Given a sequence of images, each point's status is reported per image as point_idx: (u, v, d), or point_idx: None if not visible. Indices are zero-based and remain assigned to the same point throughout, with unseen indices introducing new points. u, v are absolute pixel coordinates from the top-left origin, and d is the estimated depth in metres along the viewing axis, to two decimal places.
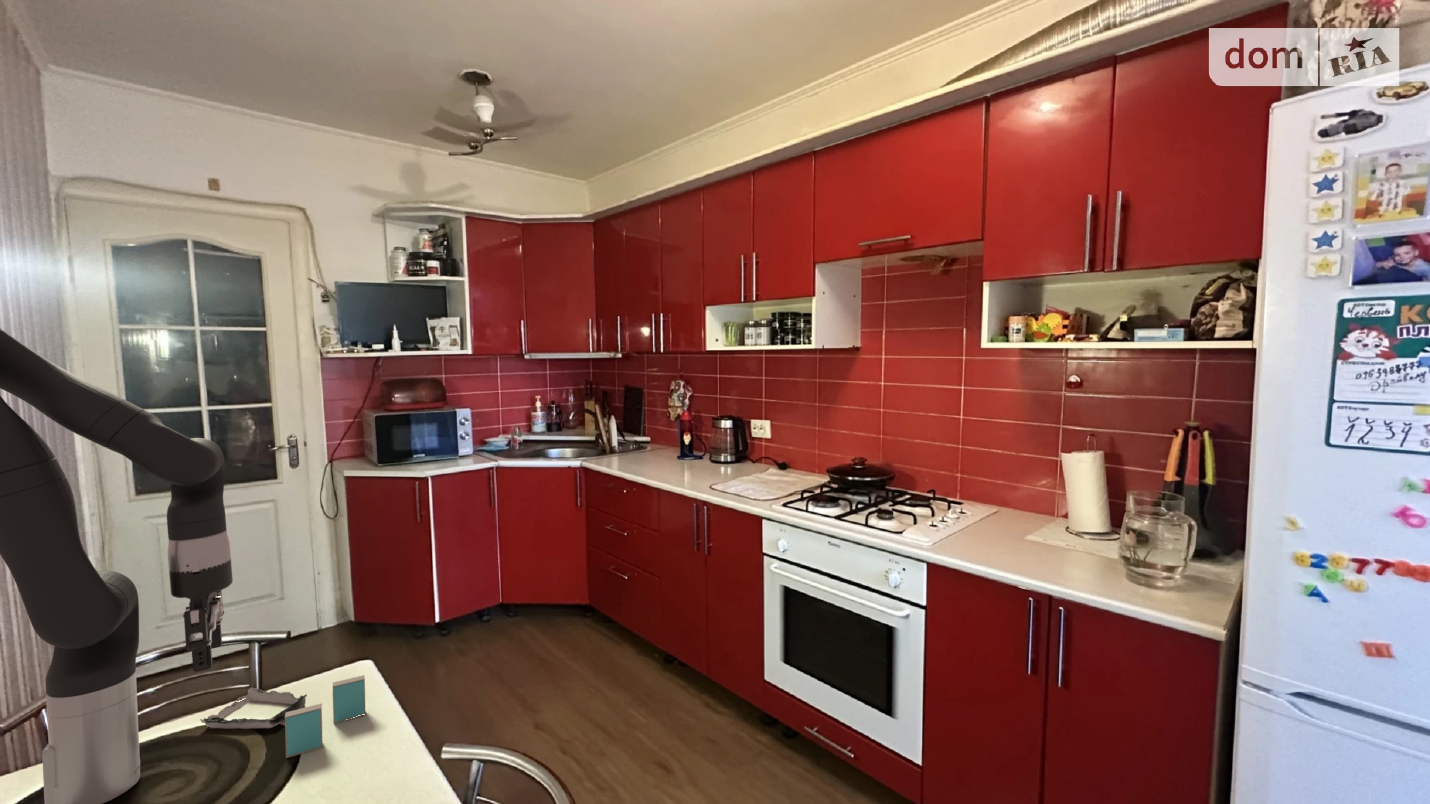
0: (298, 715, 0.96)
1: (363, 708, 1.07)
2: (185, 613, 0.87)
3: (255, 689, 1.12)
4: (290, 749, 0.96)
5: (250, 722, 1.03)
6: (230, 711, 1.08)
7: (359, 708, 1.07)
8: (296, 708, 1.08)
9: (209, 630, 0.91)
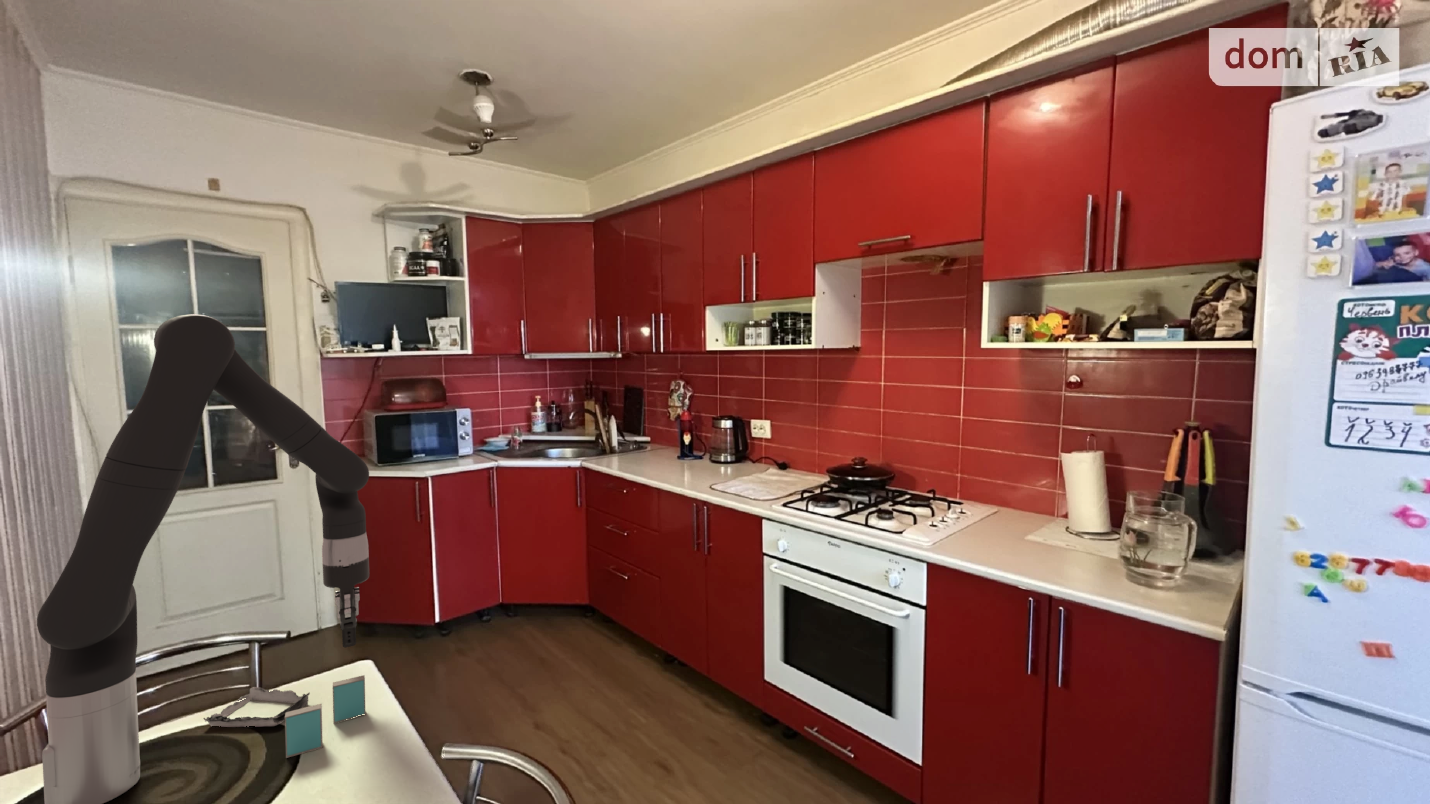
0: (298, 715, 0.96)
1: (363, 708, 1.07)
2: (341, 613, 1.05)
3: (257, 688, 1.13)
4: (290, 749, 0.96)
5: (253, 720, 1.04)
6: (232, 710, 1.08)
7: (359, 708, 1.07)
8: (299, 706, 1.09)
9: None
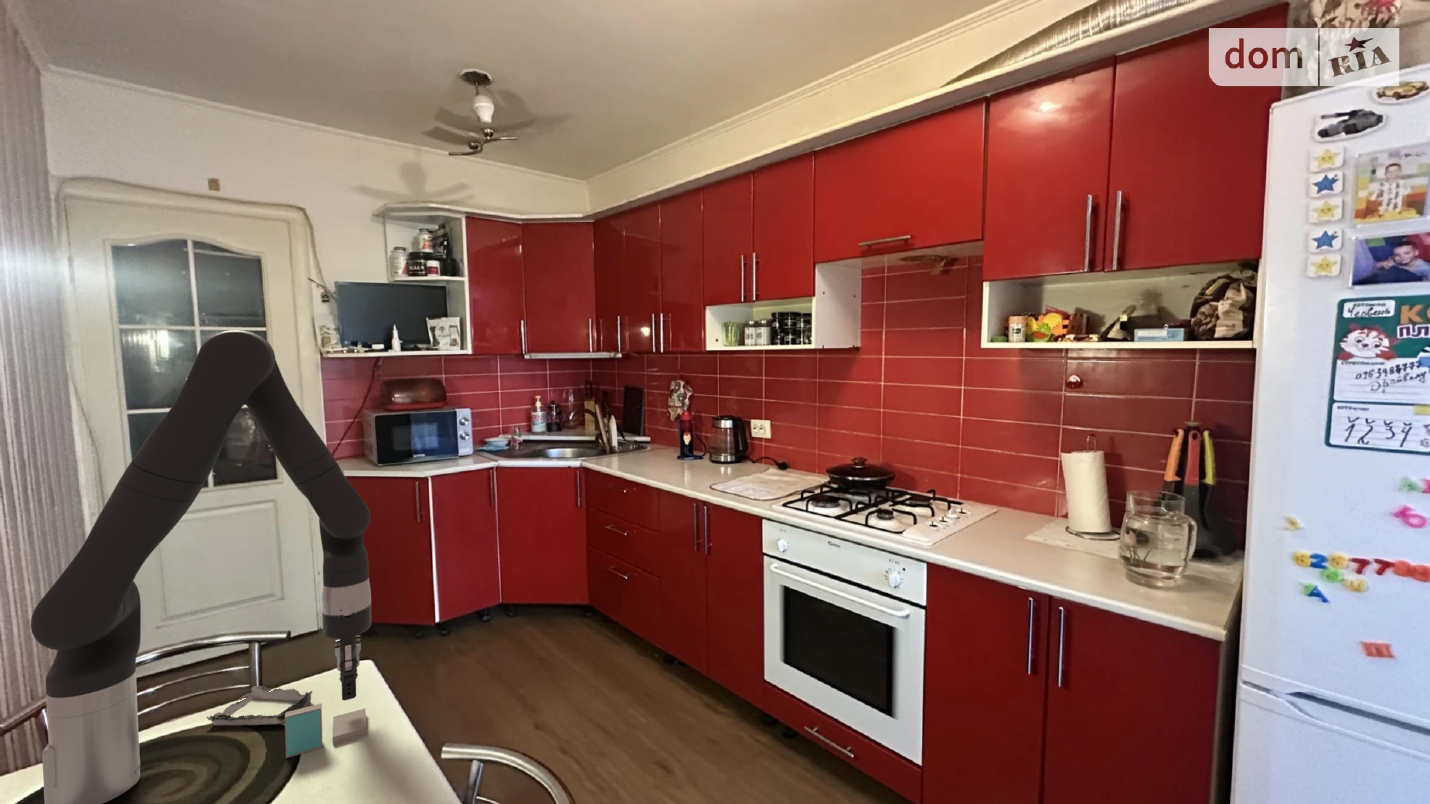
0: (298, 715, 0.96)
1: None
2: (341, 666, 0.99)
3: (259, 687, 1.13)
4: (290, 749, 0.96)
5: (257, 718, 1.04)
6: (235, 709, 1.09)
7: None
8: (302, 704, 1.10)
9: None
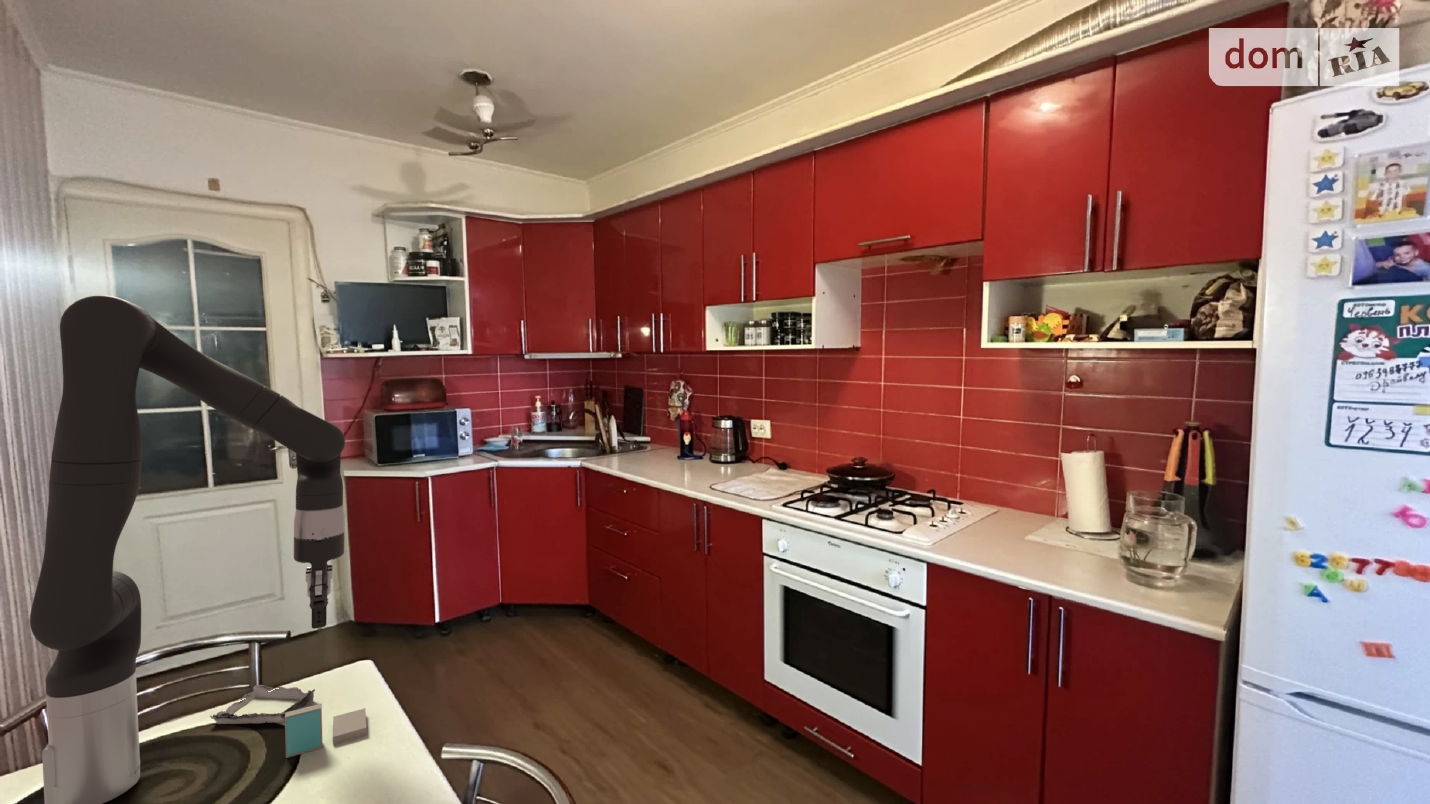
0: (298, 715, 0.96)
1: None
2: (311, 590, 0.98)
3: (261, 686, 1.13)
4: (290, 749, 0.96)
5: (261, 716, 1.05)
6: (237, 708, 1.09)
7: None
8: (305, 703, 1.10)
9: (326, 595, 1.03)
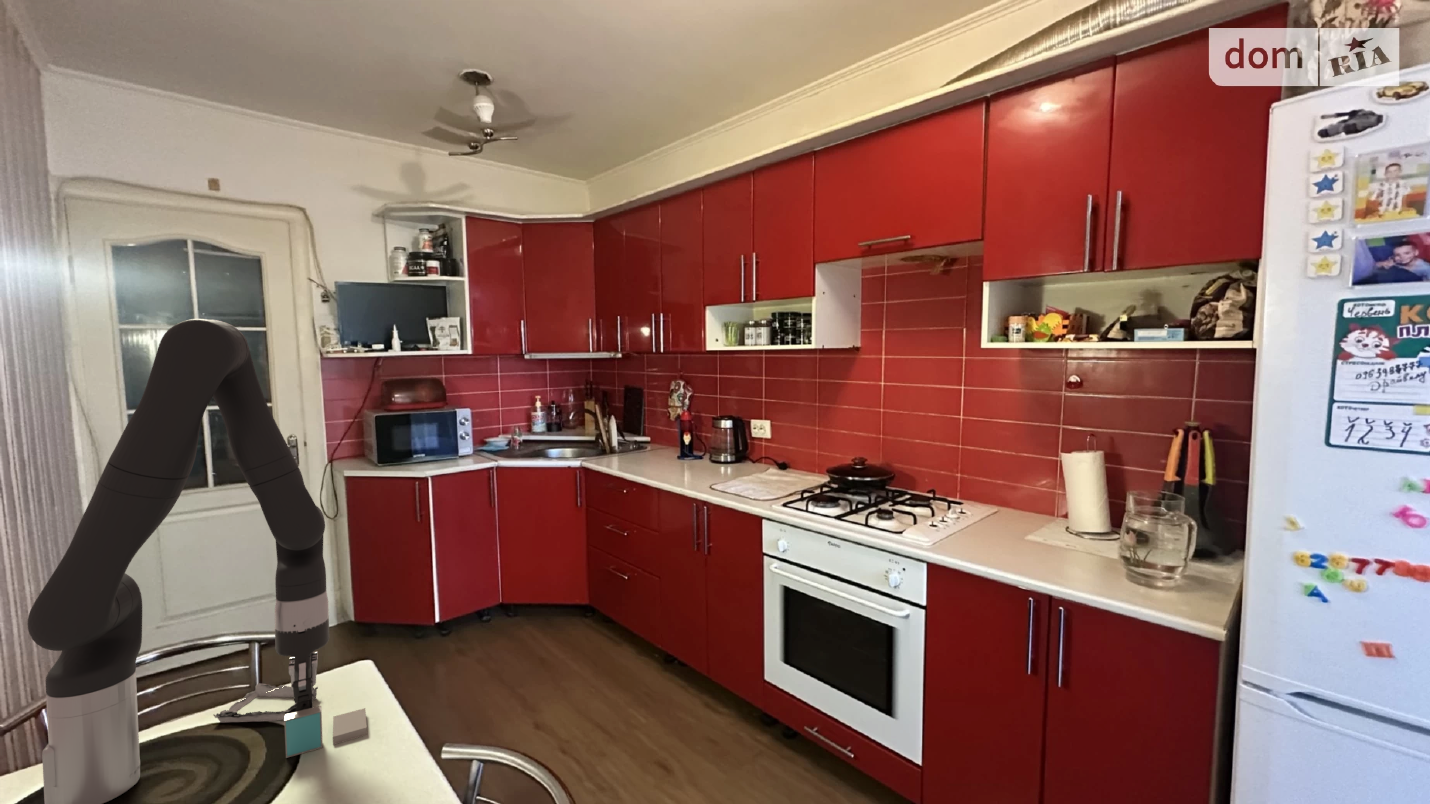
0: (298, 718, 0.95)
1: None
2: (294, 686, 0.93)
3: (263, 684, 1.14)
4: (290, 750, 0.96)
5: (265, 715, 1.05)
6: (240, 706, 1.10)
7: None
8: None
9: (311, 686, 0.98)
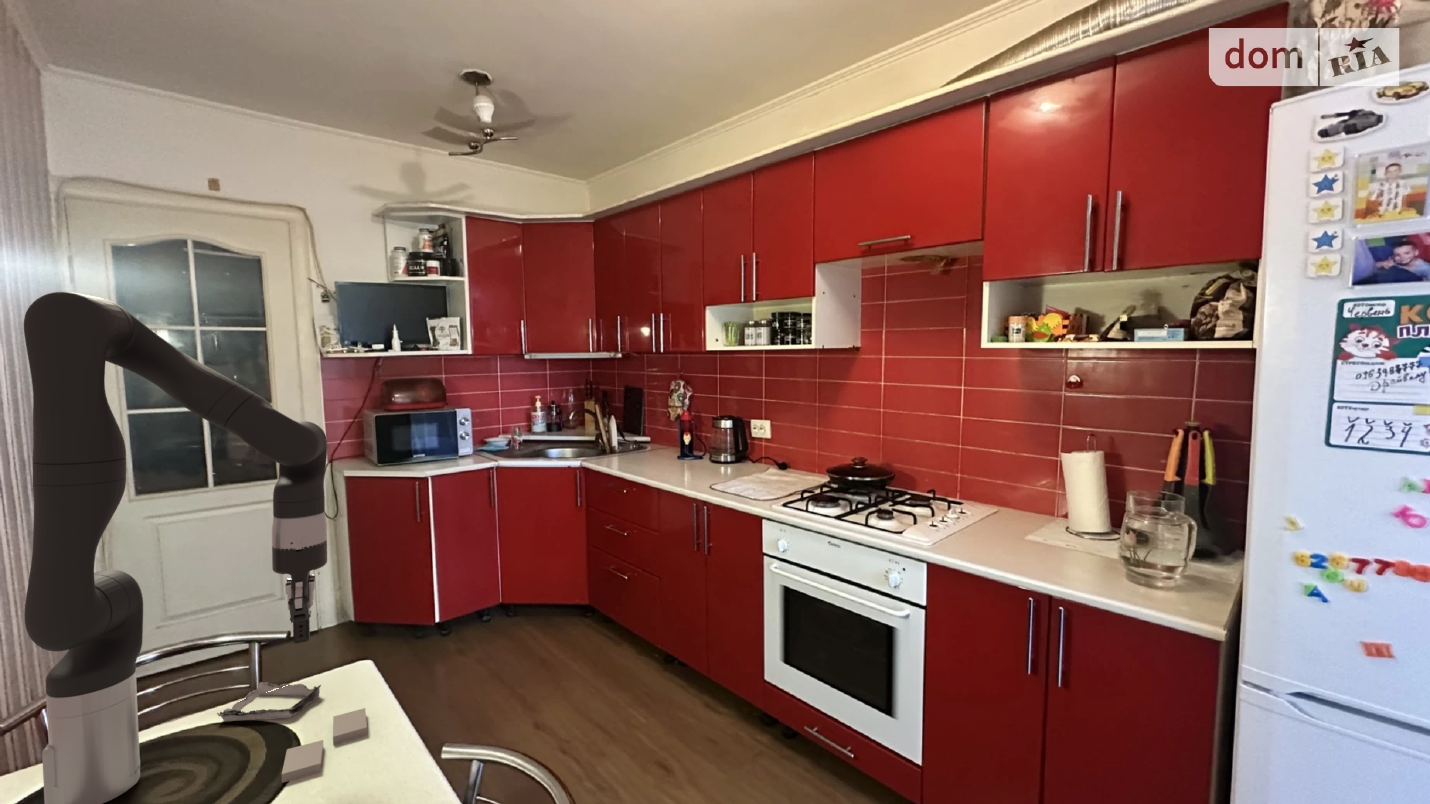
0: None
1: None
2: (290, 603, 0.91)
3: (265, 683, 1.14)
4: None
5: (269, 713, 1.06)
6: (243, 705, 1.10)
7: None
8: (311, 698, 1.12)
9: (308, 608, 0.96)
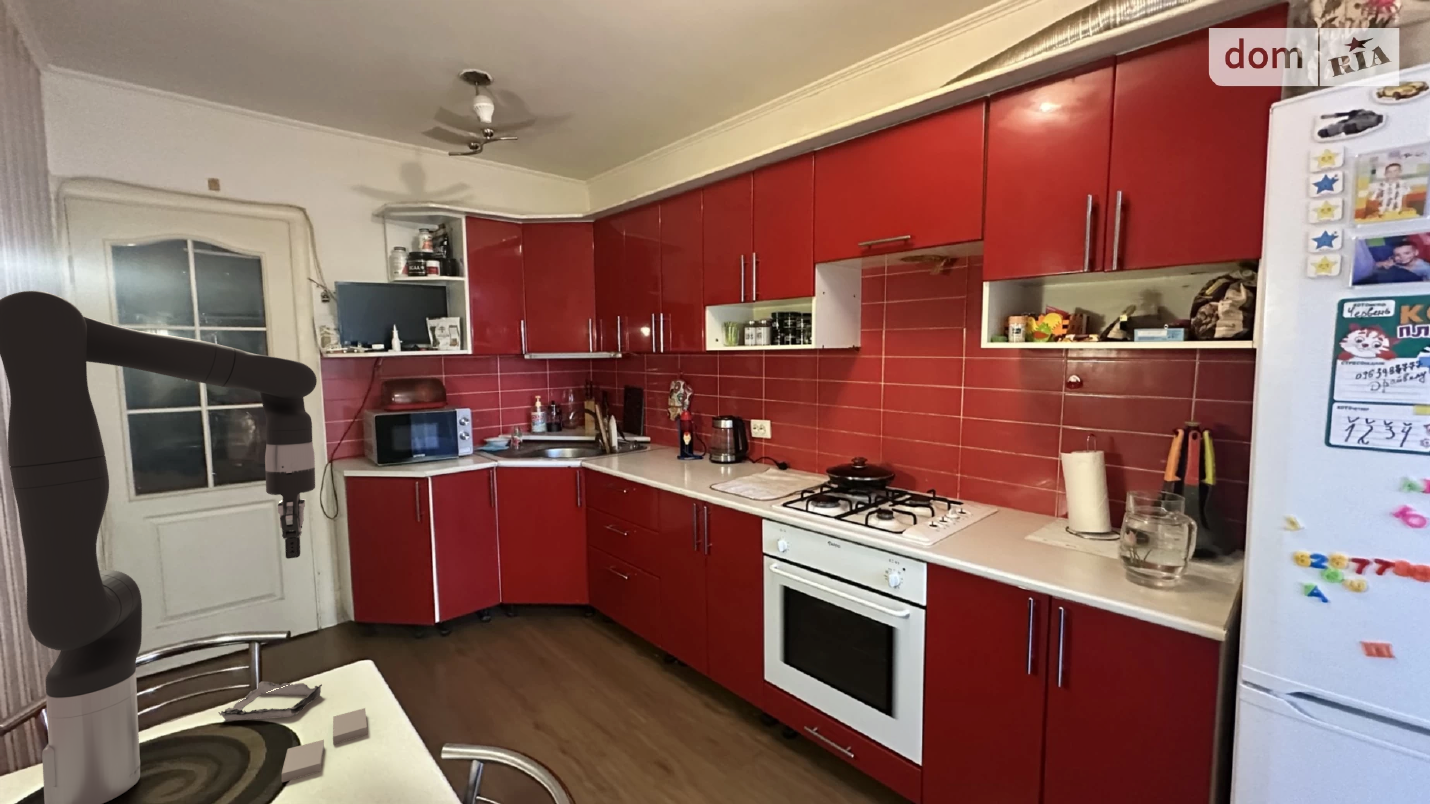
0: None
1: None
2: (281, 518, 1.03)
3: (266, 682, 1.14)
4: None
5: (270, 712, 1.06)
6: (244, 704, 1.10)
7: None
8: (313, 698, 1.12)
9: (299, 527, 1.08)
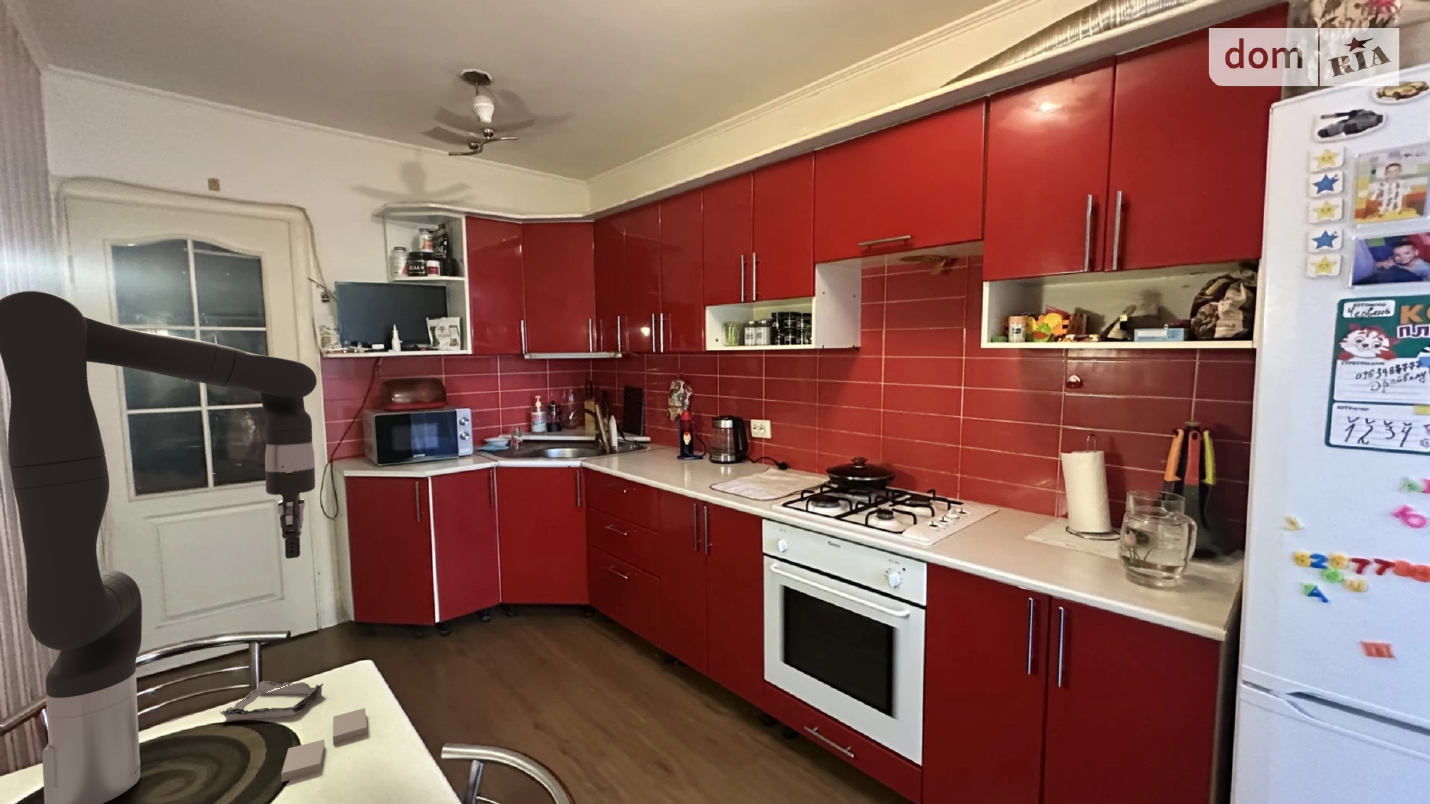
0: None
1: None
2: (281, 518, 1.03)
3: (267, 682, 1.15)
4: None
5: (272, 711, 1.07)
6: (245, 704, 1.10)
7: None
8: (314, 697, 1.12)
9: (298, 527, 1.08)
